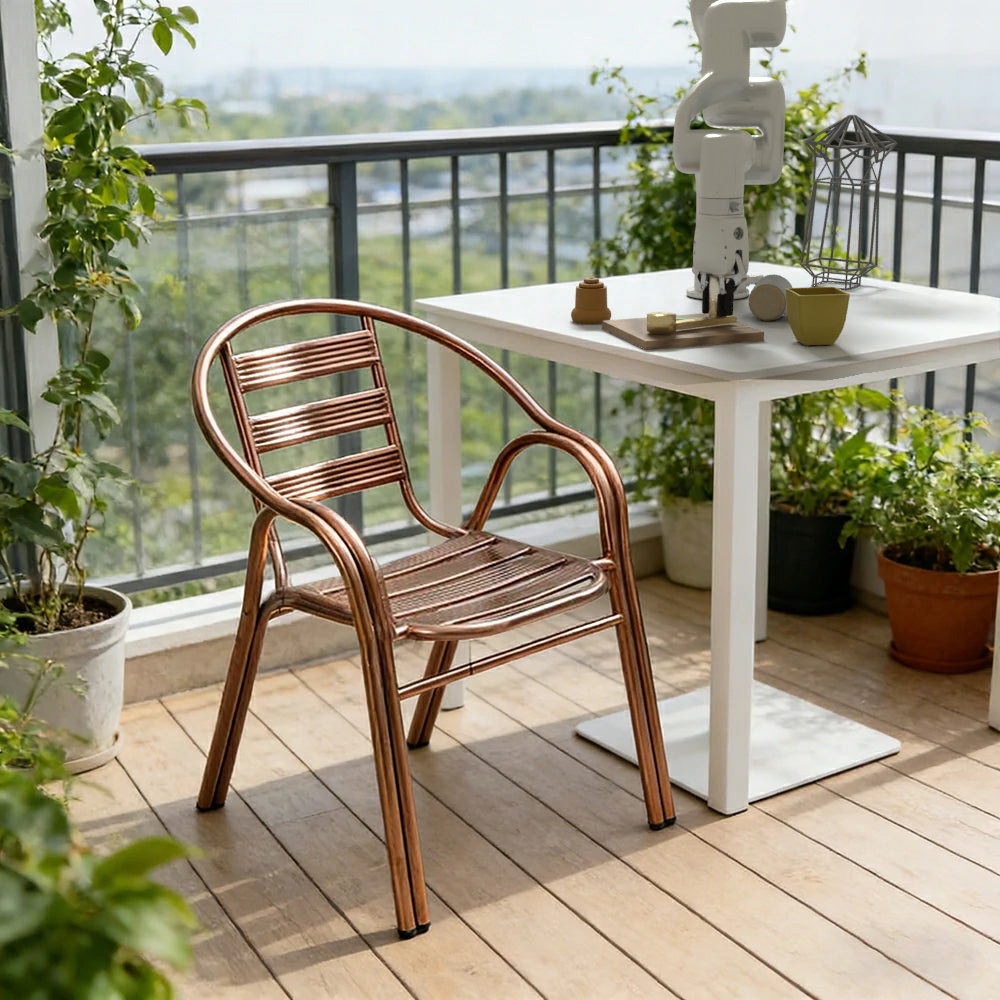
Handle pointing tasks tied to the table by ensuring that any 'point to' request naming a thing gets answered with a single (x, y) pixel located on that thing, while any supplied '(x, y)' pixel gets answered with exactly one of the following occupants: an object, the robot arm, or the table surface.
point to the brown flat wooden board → (681, 333)
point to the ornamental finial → (591, 302)
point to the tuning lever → (668, 323)
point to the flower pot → (817, 314)
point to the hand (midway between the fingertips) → (717, 313)
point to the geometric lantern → (836, 132)
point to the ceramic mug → (769, 298)
